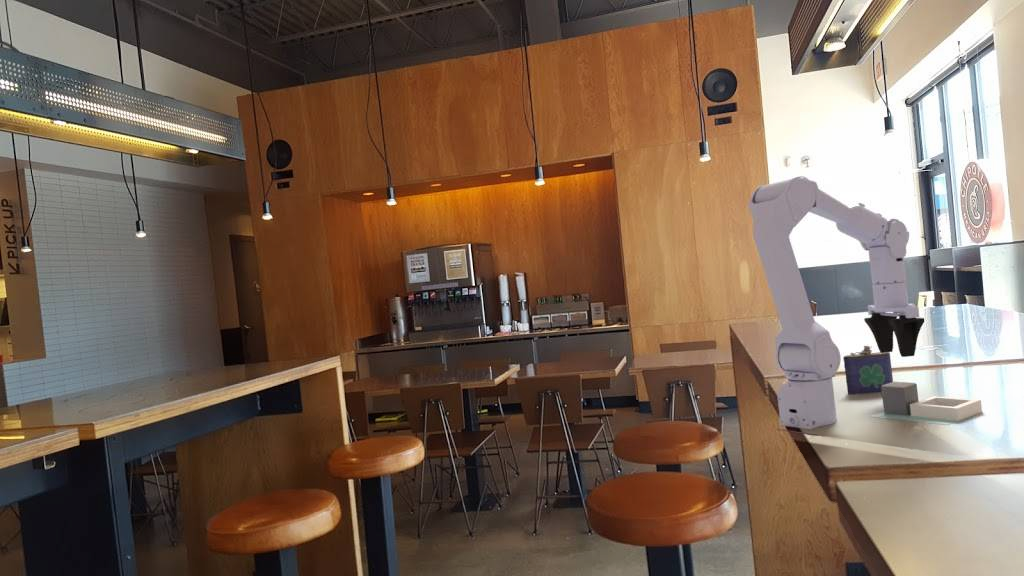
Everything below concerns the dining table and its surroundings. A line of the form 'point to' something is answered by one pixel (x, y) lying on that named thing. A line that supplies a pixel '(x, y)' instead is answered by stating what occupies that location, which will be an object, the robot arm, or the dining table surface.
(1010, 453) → the dining table surface
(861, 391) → the flask
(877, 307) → the robot arm
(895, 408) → the grey block
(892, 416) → the translucent flat sheet
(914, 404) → the socket
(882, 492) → the dining table surface
